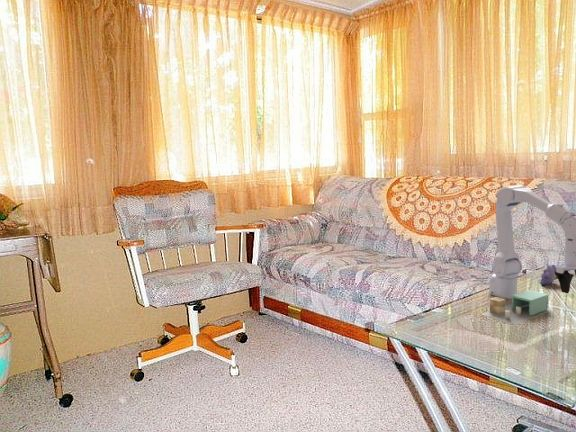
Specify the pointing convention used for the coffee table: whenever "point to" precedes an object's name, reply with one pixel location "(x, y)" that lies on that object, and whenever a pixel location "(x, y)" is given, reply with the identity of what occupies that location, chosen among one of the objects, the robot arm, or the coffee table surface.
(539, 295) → the block
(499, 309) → the brown block
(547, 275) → the flower
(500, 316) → the base
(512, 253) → the robot arm
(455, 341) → the coffee table surface
